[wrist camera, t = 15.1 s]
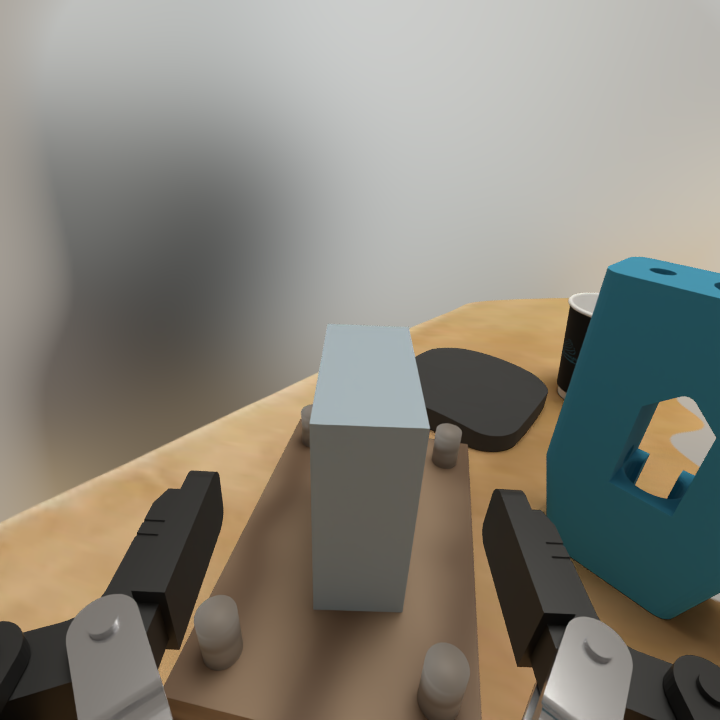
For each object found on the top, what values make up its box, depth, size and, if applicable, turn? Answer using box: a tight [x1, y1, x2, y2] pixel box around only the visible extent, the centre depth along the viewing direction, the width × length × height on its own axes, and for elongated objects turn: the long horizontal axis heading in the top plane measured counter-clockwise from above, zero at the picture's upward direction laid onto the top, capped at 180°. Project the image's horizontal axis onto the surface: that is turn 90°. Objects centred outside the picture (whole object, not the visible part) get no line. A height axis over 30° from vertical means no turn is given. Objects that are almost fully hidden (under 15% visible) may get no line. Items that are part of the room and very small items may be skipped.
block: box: [547, 257, 720, 619], centre depth 26 cm, size 12×5×20 cm, turn 42°
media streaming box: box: [415, 348, 548, 452], centre depth 47 cm, size 15×15×3 cm
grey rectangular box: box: [309, 324, 430, 612], centre depth 25 cm, size 5×10×13 cm, turn 179°
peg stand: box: [163, 404, 482, 720], centre depth 29 cm, size 15×22×6 cm
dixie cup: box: [557, 293, 599, 399], centre depth 47 cm, size 8×8×11 cm
